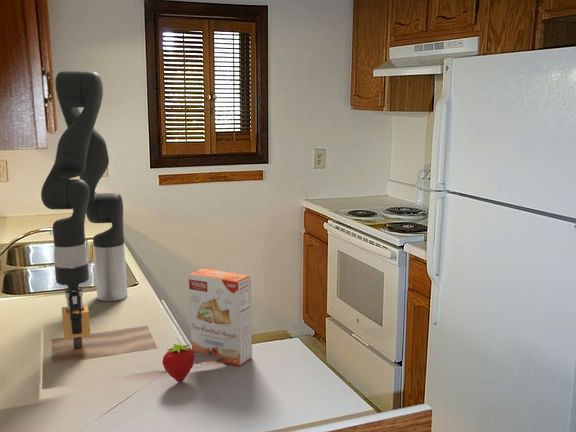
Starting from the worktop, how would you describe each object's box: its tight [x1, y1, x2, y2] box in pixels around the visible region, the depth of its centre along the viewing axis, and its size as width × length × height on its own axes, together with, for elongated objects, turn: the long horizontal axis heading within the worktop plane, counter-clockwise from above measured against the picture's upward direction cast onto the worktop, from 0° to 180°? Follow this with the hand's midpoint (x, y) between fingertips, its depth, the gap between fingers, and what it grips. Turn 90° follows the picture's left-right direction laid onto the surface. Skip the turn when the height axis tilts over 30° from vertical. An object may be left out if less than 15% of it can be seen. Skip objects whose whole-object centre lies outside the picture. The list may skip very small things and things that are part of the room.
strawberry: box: [162, 339, 196, 383], centre depth 130 cm, size 6×8×10 cm
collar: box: [61, 303, 92, 339], centre depth 145 cm, size 6×6×6 cm
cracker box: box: [188, 267, 253, 367], centre depth 141 cm, size 14×6×21 cm, turn 62°
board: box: [51, 325, 158, 365], centre depth 148 cm, size 16×24×8 cm, turn 112°
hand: (76, 328), depth 145 cm, fingers closed on collar, 6 cm apart
